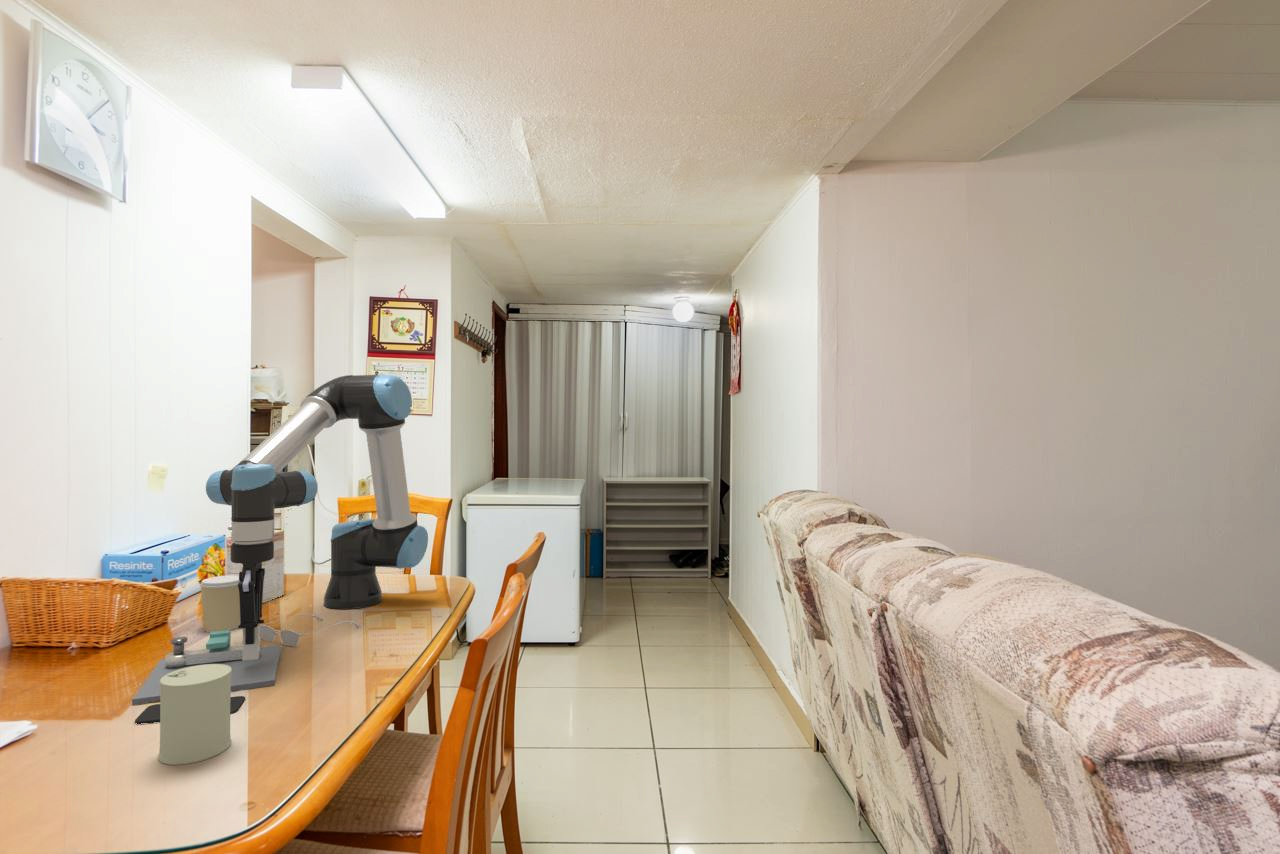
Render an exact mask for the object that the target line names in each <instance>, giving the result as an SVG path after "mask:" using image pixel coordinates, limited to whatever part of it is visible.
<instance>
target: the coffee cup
mask: <svg viewBox="0 0 1280 854" xmlns="http://www.w3.org/2000/svg"><path fill="white" fill-rule="evenodd" d="M239 582H240V581H239V575H227V576H226V575H219V576H212V577H208V578H205V579H203V580H201V582H200V585H199V586H200V589H201V592H200V593H201V608H202V609H201V610H202V620H203V621H202V625H203V632H205V631H206V633H211V632H216V631H225V630H231V631H234V630H236V629H238V626H239V625H240V623H241V622H240V597H239V588H238V583H239Z"/></svg>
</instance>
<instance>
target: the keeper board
mask: <svg viewBox="0 0 1280 854" xmlns="http://www.w3.org/2000/svg"><path fill="white" fill-rule="evenodd" d="M231 631H232V630H225V631H216V632H209V638H208V640H207V642H206V644H205V649H213V648H221V647H231V638H232V636H231V633H232V632H231ZM281 653H282V644H277V645H268V646H261V655H260V656H259V658H258V659H254V660H244V661H242V659H239V660H230V661H221V662H211V663H202V664H193V665H185V666H181V667H174V668H169V667H166V666H165V657H164V658H160V660H159V661H158V663H157V664H156V665H155V667H154V668H153V669H152V671H151V672H150V673H149V675H148V677H147V678H146V679H145V681H144V682H143V684H142V685H141V686H140V688H138V690H137V692H136V693H135V695H134V696H133V697H132V699H131V706H134V705H133V704H137V705H142V704H141V703H144V704H150V703H149V702H151V703H157V702H160V679H161V678H162V677H163V676H165V675H166V674H168V673H171V672H173V671H176V670H179V669H183V668H187V667H191V666H197V665H204V664H223V665H228V666H230V667H231V669H232V671H231V692H235V691H243V690H249V689H250V690H251V689H257V688H264V687H265V688H266V687H271V686H275V683H276V679H277V678H276V677H277V672H278V668H279V667H278V666H279V663H280V659H281V658H280V657H281ZM156 701H157V702H156ZM146 702H147V703H146Z"/></svg>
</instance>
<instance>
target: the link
mask: <svg viewBox="0 0 1280 854" xmlns="http://www.w3.org/2000/svg"><path fill="white" fill-rule="evenodd" d="M187 642H188V637H186V636H179V637H173V638H171V639H170V645H173V647H172V649H173V650H172V652H171V651H170V652H169V653H167V654H165V655H164V658H165V666H166V667H169V668H174V667H181V666H185V665H193V664H202V663H211V662H221V661H230V660H239V659H242V652H243V644H241V645H233V646H232V645H230V647H221V648H213V649H206V648H205V649H204V648H203V649H194V650H189V649H188V650H185V643H187ZM261 647H262V645H261V644H260V643H259V656H260V655H261Z"/></svg>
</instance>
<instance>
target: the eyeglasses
mask: <svg viewBox="0 0 1280 854" xmlns="http://www.w3.org/2000/svg"><path fill="white" fill-rule="evenodd" d="M304 615H307V616H312V617H314V618H316V620H317V621H318V622H320V621H319V620H323V621H325V618H322V617H321V616H319V615H316V614H312V613H298V614H294V615H292V616H289V617H288V616H287V617H284V618H281V619H277V620H275V621H271V622H268V623H262V624H259V625H260V639H259V640H261V641H265V642H271V643H272V642H274V639H275V638H276V636H277V633H280V639H281V641H282V642H281V643H282V644H283V645H285V646H288V647H297V644H298V642H299V638H301V637H305V636H306V635H307V634H312V633H314V632H317V631H321V630H323V629H327V628H331V627H333V626H336V625H340V624H343V623H351V624H352V625H354V626H355V628H356V629H359V627H360V628H361V627H362V625H360V624H359V623H357V622H355V621H352V620H343V621H340V622H337V623H335V624H332V625H329V626H326V627H323V628H320V629H317V630H313V631H310V632H307V633H306V632H303V633H298V632H297V631H294V630H290V629H282V630H281V631H280V630H275V628H273V627H272V626H268V625H269V624H271V623H275V622H279V621H282V620H285V619H290V618H293V617H297V616H304Z"/></svg>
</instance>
